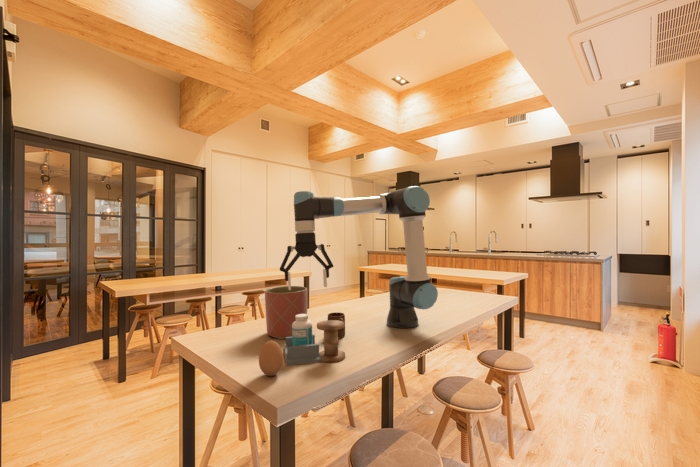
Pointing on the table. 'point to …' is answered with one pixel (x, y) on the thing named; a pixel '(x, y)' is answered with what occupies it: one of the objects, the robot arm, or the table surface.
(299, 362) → the card holder
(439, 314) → the table surface
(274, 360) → the egg
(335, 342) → the bobbin
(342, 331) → the mug
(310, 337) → the pill bottle
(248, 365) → the table surface
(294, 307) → the planter
